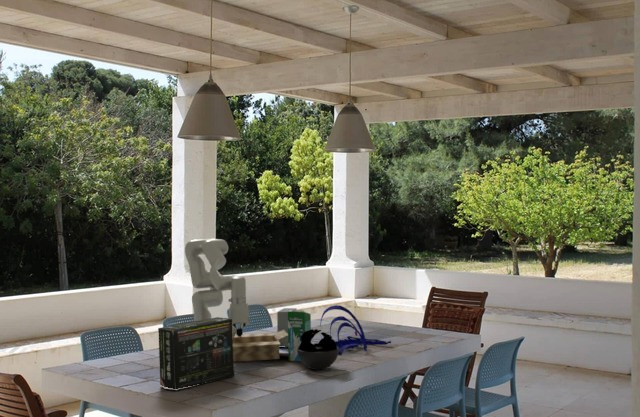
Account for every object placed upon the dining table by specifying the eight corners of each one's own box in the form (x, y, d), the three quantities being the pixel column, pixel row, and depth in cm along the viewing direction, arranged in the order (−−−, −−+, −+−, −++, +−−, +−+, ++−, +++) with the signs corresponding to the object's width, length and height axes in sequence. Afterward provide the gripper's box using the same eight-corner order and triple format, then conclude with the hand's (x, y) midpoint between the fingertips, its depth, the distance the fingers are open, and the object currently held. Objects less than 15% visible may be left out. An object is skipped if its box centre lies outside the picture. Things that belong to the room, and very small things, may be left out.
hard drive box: (290, 348, 408) (290, 311, 407) (277, 348, 409) (276, 311, 409) (297, 343, 423) (296, 307, 423) (284, 342, 424) (283, 307, 424)
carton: (233, 364, 369) (232, 346, 369) (228, 351, 401) (228, 335, 401) (281, 361, 374) (281, 343, 374) (273, 349, 406) (273, 332, 406)
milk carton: (311, 358, 382) (310, 309, 381) (305, 361, 373) (304, 311, 373) (294, 357, 385) (294, 308, 384) (288, 360, 376) (287, 311, 376)
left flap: (231, 342, 377) (234, 331, 377) (229, 336, 393) (232, 326, 394) (232, 342, 377) (235, 331, 377) (230, 336, 393) (233, 326, 394)
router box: (219, 373, 352) (217, 316, 352) (235, 376, 345) (234, 318, 345) (157, 388, 325) (156, 327, 324) (173, 392, 318) (172, 329, 317)
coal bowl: (298, 364, 366) (298, 326, 366) (339, 364, 366) (338, 325, 366) (296, 374, 346) (295, 333, 346) (339, 373, 346) (338, 333, 346)
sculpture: (392, 346, 407) (387, 299, 405) (350, 362, 382) (345, 312, 380) (344, 339, 431) (340, 295, 429) (302, 355, 407) (297, 308, 405)
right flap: (278, 339, 381) (288, 334, 382) (274, 333, 398) (283, 329, 399) (278, 340, 381) (288, 336, 382) (274, 334, 398) (284, 330, 399)
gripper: (224, 302, 381) (225, 338, 381) (253, 300, 384) (254, 336, 384) (223, 300, 388) (224, 335, 388) (252, 299, 391) (253, 334, 391)
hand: (239, 336), depth 386 cm, fingers closed
